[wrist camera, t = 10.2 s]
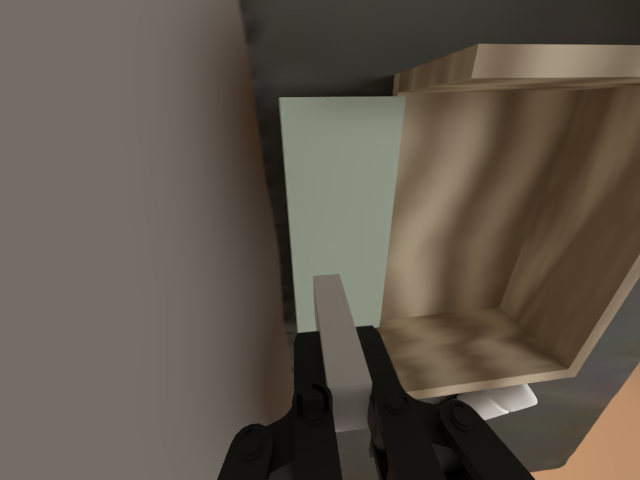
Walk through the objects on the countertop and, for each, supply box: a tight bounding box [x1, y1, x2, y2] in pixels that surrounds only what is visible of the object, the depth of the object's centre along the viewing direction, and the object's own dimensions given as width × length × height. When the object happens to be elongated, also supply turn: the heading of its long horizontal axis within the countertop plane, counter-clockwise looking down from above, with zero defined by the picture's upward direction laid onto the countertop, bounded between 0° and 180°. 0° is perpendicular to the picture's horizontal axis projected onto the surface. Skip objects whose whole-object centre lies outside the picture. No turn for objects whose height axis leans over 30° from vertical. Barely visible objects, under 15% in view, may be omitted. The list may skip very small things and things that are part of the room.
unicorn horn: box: [452, 384, 538, 420], centre depth 37 cm, size 5×24×5 cm, turn 126°
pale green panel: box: [278, 96, 406, 334], centre depth 22 cm, size 2×21×8 cm
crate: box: [375, 44, 640, 399], centre depth 21 cm, size 16×24×9 cm, turn 1°
